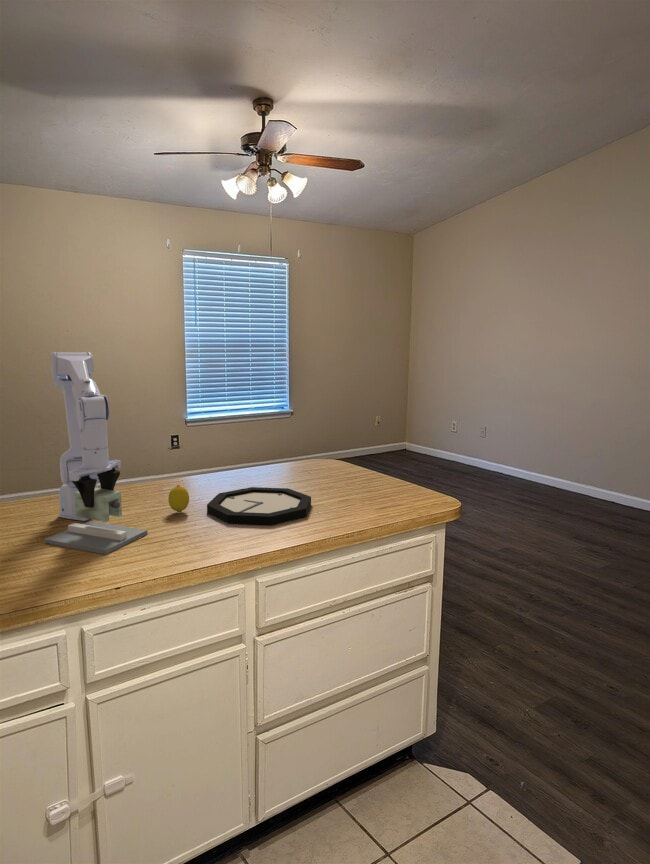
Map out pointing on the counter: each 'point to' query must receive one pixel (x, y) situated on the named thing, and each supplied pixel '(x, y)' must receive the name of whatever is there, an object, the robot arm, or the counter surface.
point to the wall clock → (259, 506)
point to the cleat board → (96, 537)
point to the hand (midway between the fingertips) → (98, 503)
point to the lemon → (178, 498)
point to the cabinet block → (100, 505)
